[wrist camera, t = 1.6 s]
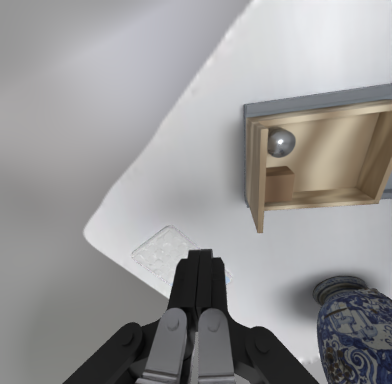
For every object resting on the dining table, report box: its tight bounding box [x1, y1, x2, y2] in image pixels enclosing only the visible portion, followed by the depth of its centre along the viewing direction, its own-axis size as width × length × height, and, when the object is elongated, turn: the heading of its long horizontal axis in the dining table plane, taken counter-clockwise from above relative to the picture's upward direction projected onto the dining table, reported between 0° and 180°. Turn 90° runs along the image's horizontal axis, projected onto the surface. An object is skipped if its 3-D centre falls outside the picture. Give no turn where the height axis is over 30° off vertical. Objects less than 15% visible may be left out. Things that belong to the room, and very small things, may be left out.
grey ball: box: [267, 126, 296, 158], centre depth 22 cm, size 3×3×3 cm
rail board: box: [244, 83, 392, 208], centre depth 25 cm, size 26×15×2 cm, turn 98°
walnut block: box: [264, 166, 295, 203], centre depth 25 cm, size 4×4×3 cm
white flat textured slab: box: [131, 225, 232, 287], centre depth 40 cm, size 13×20×2 cm, turn 43°
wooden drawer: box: [246, 99, 392, 233], centre depth 21 cm, size 16×12×9 cm
